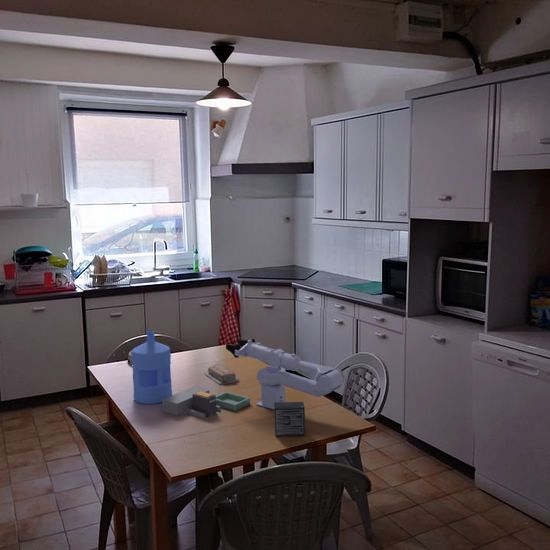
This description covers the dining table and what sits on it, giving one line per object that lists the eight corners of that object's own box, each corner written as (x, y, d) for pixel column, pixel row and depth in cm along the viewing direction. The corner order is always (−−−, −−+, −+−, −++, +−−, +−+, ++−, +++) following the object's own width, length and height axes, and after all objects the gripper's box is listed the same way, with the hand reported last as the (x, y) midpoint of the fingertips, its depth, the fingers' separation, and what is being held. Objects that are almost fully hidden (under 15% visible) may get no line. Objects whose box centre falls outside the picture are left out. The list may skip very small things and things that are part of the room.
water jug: (127, 397, 240) (123, 331, 236) (160, 388, 250) (158, 325, 246) (144, 407, 228) (141, 339, 224) (179, 398, 238) (177, 332, 234)
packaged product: (239, 371, 258) (219, 375, 253) (240, 382, 259) (219, 386, 254) (223, 361, 273) (203, 365, 269) (223, 371, 274) (203, 375, 269)
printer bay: (227, 406, 228) (227, 394, 227) (195, 421, 214) (195, 408, 213) (195, 397, 238) (195, 386, 237) (163, 411, 224) (162, 399, 223)
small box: (303, 428, 207) (303, 400, 205) (305, 436, 200) (305, 407, 199) (274, 429, 206) (274, 401, 205) (275, 437, 200) (274, 408, 198)
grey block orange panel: (217, 412, 222) (216, 394, 221) (209, 416, 219) (208, 398, 218) (201, 408, 227) (200, 390, 226) (192, 411, 224) (192, 393, 223)
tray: (250, 404, 231) (249, 398, 231) (235, 411, 224) (235, 404, 223) (226, 397, 238) (226, 391, 238) (211, 404, 231) (211, 398, 231)
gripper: (269, 338, 236) (244, 331, 244) (247, 346, 224) (221, 338, 232) (268, 355, 237) (243, 347, 245) (246, 363, 226) (220, 355, 233)
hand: (232, 344), depth 239 cm, fingers open, 7 cm apart
